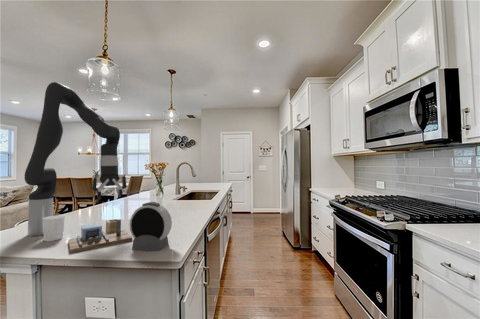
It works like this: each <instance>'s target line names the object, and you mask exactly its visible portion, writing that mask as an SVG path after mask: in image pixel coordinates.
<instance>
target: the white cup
mask: <svg viewBox="0 0 480 319" xmlns="http://www.w3.org/2000/svg"><path fill="white" fill-rule="evenodd" d="M65 216H66V215H64V214H61V215H60V214H59V215H57V214H56V215H53V216H49V217H44V218H43V235H42V236H43V241H44V242H53V241H58V240H62V239H63V238H64V231H65V219H66V218H65Z"/></svg>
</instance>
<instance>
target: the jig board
mask: <svg viewBox="0 0 480 319" xmlns="http://www.w3.org/2000/svg"><path fill="white" fill-rule="evenodd" d="M67 242H68V243H67V244H68V249H69V254H74V253H78V252H84V251H89V250H93V249H94V250H95V249H99V248H103V247H109V246H113V245H118V244H123V243H128V242H133V236H132V235H130V234H129V233H128V232H127V231H126V230H125V229H123V230H122V219H119V220H117V222H116V232H110V233H106V232H104V231H102V238H100V237H99V236H98V235H96V236H90V237H85V241H82V238H81V236H80V235H77V236H76V237H74V238H70V239H68V241H67Z"/></svg>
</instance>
